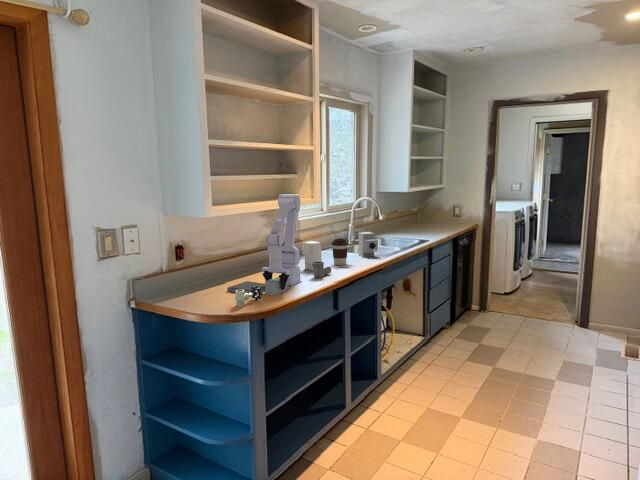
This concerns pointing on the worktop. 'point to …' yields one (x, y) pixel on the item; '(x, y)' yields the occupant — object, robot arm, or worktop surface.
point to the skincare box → (312, 253)
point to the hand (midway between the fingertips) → (276, 288)
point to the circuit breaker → (367, 244)
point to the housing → (274, 286)
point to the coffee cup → (339, 251)
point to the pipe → (320, 269)
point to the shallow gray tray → (246, 287)
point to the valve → (246, 296)
